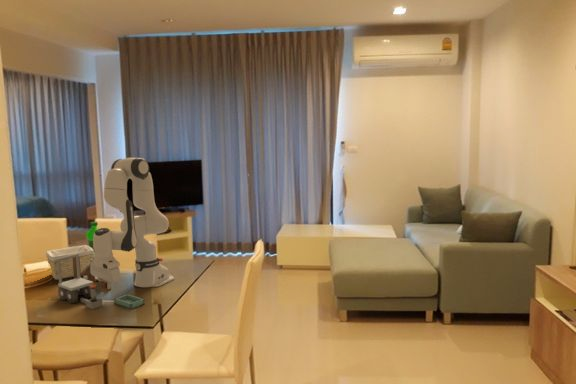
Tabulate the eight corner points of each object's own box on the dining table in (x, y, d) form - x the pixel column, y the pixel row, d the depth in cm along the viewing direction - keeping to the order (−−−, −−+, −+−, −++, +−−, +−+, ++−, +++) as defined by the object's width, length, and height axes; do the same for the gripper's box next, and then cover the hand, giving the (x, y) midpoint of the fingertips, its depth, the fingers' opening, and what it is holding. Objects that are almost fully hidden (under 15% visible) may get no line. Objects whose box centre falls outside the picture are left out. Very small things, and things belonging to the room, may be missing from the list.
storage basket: (53, 281, 273) (51, 256, 271) (46, 274, 286) (44, 250, 284) (96, 273, 288) (94, 249, 286) (88, 267, 301) (87, 244, 299)
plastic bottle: (104, 261, 313) (102, 223, 310) (86, 262, 310) (84, 224, 306) (105, 256, 323) (103, 220, 319) (88, 258, 319) (85, 221, 316)
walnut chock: (106, 288, 244) (106, 279, 243) (111, 290, 242) (110, 281, 241) (99, 290, 241) (98, 282, 240) (104, 292, 239) (103, 284, 238)
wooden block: (95, 286, 264) (93, 255, 262) (74, 289, 259) (72, 257, 257) (94, 284, 268) (92, 253, 265) (73, 287, 263) (71, 256, 260)
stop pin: (95, 304, 239) (94, 283, 237) (99, 305, 237) (98, 284, 235) (89, 306, 236) (87, 285, 234) (93, 308, 234) (91, 286, 232)
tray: (128, 298, 246) (127, 294, 246) (144, 304, 239) (144, 299, 239) (114, 303, 240) (114, 298, 240) (131, 309, 233) (130, 304, 232)
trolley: (79, 292, 256) (77, 253, 253) (110, 303, 241) (107, 261, 237) (58, 298, 246) (55, 258, 243) (88, 310, 231) (85, 267, 228)
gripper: (86, 258, 242) (88, 284, 245) (110, 267, 230) (112, 294, 233) (97, 255, 247) (99, 280, 250) (121, 263, 235) (123, 290, 238)
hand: (105, 287), depth 241 cm, fingers closed on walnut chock, 4 cm apart
